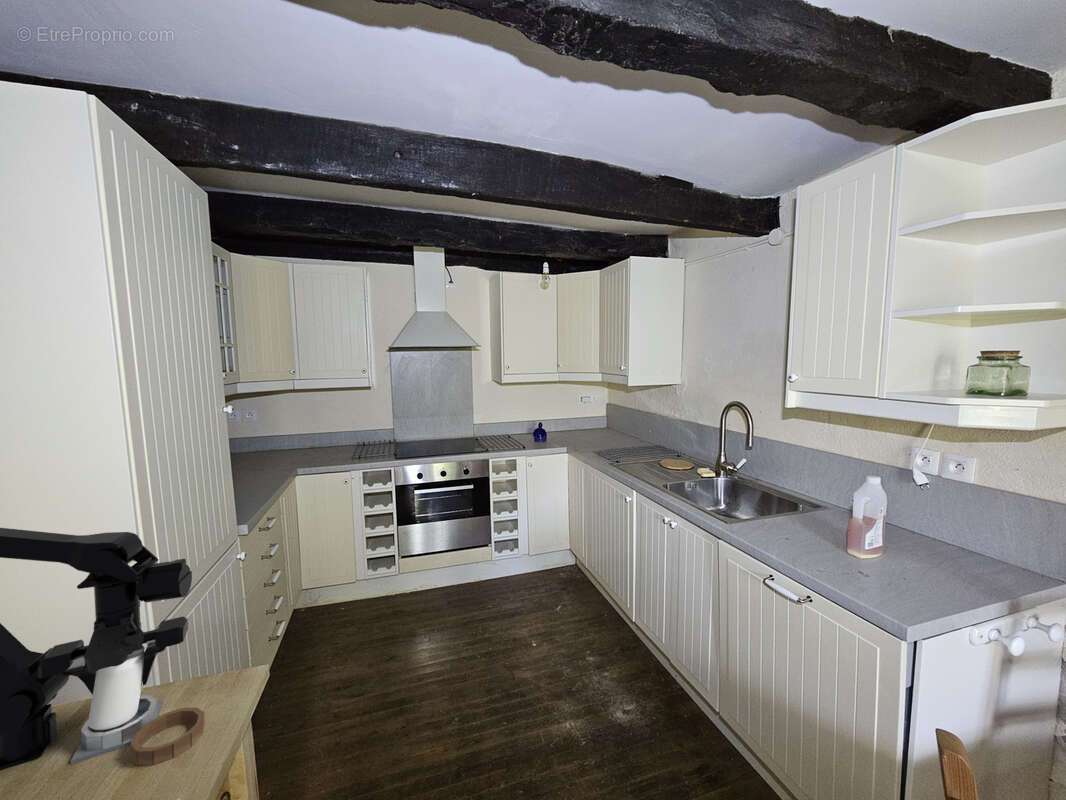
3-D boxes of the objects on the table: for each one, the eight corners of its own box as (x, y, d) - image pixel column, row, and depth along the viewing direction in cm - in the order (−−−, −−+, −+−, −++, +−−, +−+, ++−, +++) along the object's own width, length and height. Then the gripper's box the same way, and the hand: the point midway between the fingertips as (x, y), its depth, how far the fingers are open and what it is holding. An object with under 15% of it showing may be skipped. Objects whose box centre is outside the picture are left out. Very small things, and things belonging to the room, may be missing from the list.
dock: (70, 764, 71) (70, 746, 71) (92, 723, 79) (92, 707, 79) (150, 738, 76) (149, 722, 76) (163, 702, 85) (162, 688, 84)
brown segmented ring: (124, 775, 69) (123, 760, 69) (140, 733, 77) (140, 720, 77) (199, 749, 74) (199, 735, 74) (207, 712, 82) (206, 700, 82)
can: (77, 733, 73) (88, 663, 73) (103, 706, 80) (114, 642, 80) (123, 731, 75) (134, 662, 75) (145, 704, 81) (155, 641, 81)
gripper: (18, 645, 65) (23, 745, 66) (175, 611, 75) (179, 698, 75) (51, 613, 75) (55, 699, 75) (186, 586, 84) (190, 663, 85)
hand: (121, 690), depth 78 cm, fingers closed on can, 6 cm apart
